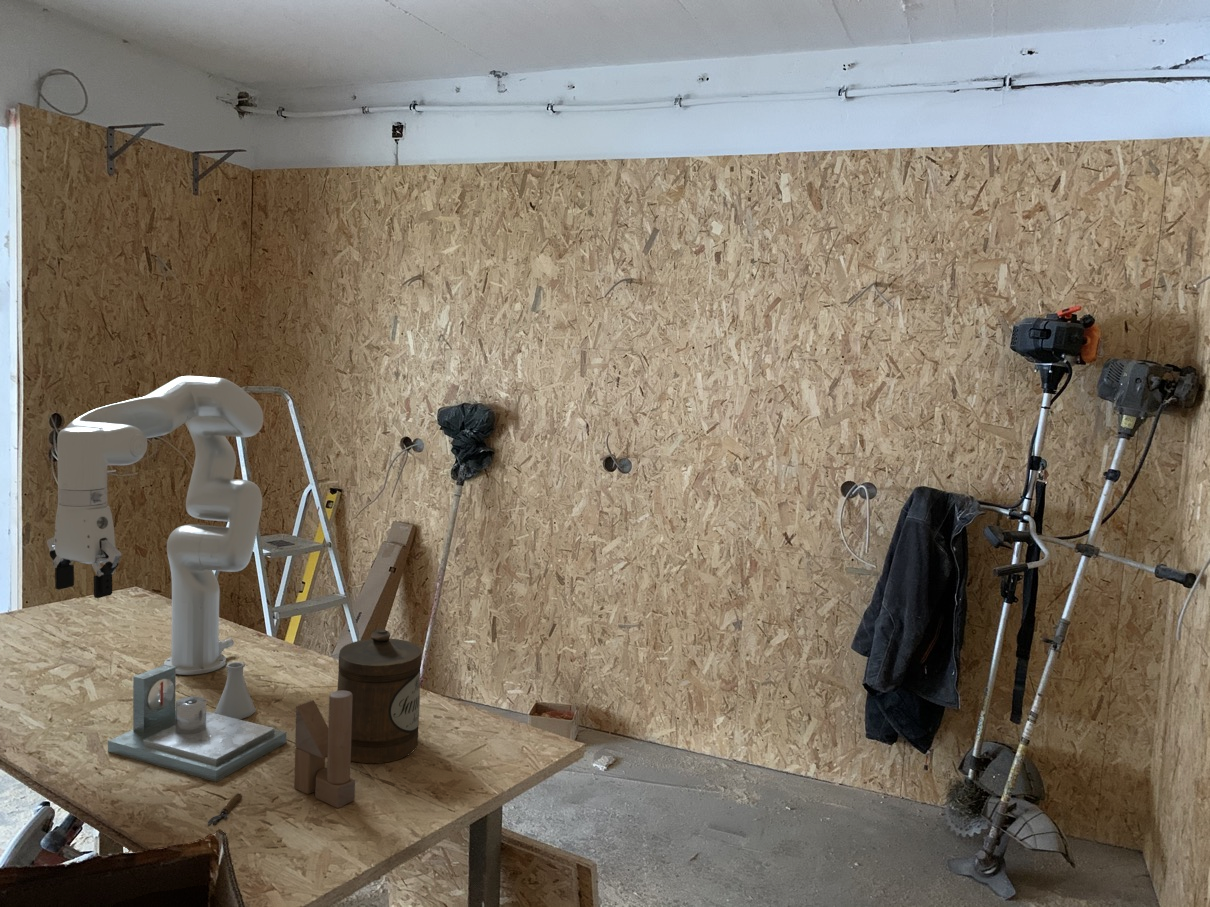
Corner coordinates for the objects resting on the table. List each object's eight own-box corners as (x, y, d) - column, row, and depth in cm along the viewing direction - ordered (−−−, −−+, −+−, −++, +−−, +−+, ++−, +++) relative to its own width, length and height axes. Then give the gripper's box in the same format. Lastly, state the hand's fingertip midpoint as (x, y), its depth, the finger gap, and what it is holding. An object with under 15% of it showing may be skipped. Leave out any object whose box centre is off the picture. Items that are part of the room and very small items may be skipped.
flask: (262, 711, 176) (263, 662, 175) (236, 724, 170) (237, 673, 169) (233, 704, 179) (233, 656, 178) (206, 717, 172) (206, 667, 171)
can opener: (235, 799, 143) (236, 792, 143) (249, 800, 143) (249, 794, 143) (202, 828, 134) (202, 820, 134) (216, 830, 134) (217, 822, 134)
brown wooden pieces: (311, 780, 150) (313, 677, 148) (355, 800, 144) (358, 693, 142) (292, 788, 147) (295, 683, 145) (337, 809, 141) (340, 700, 139)
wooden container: (416, 763, 158) (420, 643, 156) (329, 765, 156) (332, 643, 153) (419, 728, 173) (423, 618, 170) (340, 729, 170) (343, 617, 168)
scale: (184, 716, 171) (185, 656, 170) (286, 742, 163) (287, 679, 162) (107, 751, 156) (107, 685, 154) (216, 782, 147) (217, 712, 146)
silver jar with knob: (190, 720, 163) (191, 694, 162) (212, 726, 161) (212, 699, 161) (168, 731, 158) (169, 703, 158) (190, 736, 157) (190, 709, 156)
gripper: (136, 500, 158) (137, 594, 160) (68, 489, 164) (69, 580, 166) (98, 506, 151) (99, 605, 153) (28, 494, 157) (30, 589, 159)
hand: (83, 592), depth 159 cm, fingers open, 9 cm apart
